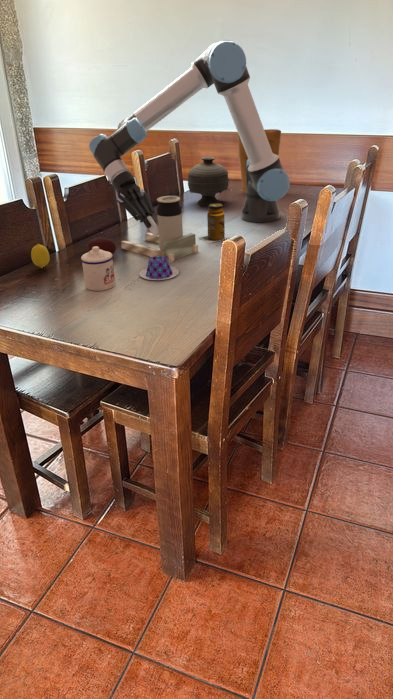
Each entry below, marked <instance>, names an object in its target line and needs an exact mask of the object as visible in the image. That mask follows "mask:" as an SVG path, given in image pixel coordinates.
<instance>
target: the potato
mask: <svg viewBox="0 0 393 699" xmlns="http://www.w3.org/2000/svg"><path fill="white" fill-rule="evenodd" d="M95 246H97V247H99V249H101V250H103V251H108V252H110V253H111V254H112V255H113V254H114V253H115V252H116V251H117V245H116V244H115V242H114V241H113V240H112V239H109V238H107V237H101V236H100V237H94V238H92V239H90V240H89V241H88V242H87V249H88V252H89V251H91V250H92V248H93V247H95Z"/></svg>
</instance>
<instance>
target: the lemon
mask: <svg viewBox="0 0 393 699" xmlns="http://www.w3.org/2000/svg"><path fill="white" fill-rule="evenodd" d="M30 257H31V261H32V262H33V264H34V265H35V266H37V268H38V267H39V268H41V269H44V268H45V266H47V265H48V264H49V262H50V253H49V251H48V249H47V247H46V246H45V245H42V244H40V243H37V244H36V245H34V246H33V247H32V249H31V253H30ZM43 267H44V268H43Z"/></svg>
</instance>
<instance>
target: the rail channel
mask: <svg viewBox="0 0 393 699" xmlns="http://www.w3.org/2000/svg"><path fill="white" fill-rule="evenodd" d="M145 241H147V242H148V241H149V242H151V243H155V244H159V235H158V236H156V237H154V236H153V234H152V233H151V232H150V231H148V232H146V233H145ZM120 244H121V249H123V250H126V251H129V252H133V253H136V254H140V255H143V256H147V257H150V258H151V257H154V256H163V257H166V258H167V259H168V261H169V264H170V263H173V262H175V260H178V259H180V258H182V257H185V256H187V255H190V254H197V253H199V244H197V243H196V233H193V232H190V233H187V234H183V236H181V237H178V238H175V239H173V240H170V241H167V242H164V243H163V247H164V251H161V250H160V249H158V248H153V247H150V246H147V245H146V246H145V245H143V244H138V243H135V242H131V241H127V240H121V241H120Z"/></svg>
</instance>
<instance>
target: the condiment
mask: <svg viewBox="0 0 393 699" xmlns="http://www.w3.org/2000/svg"><path fill="white" fill-rule="evenodd" d="M207 207H208V208H207V209H208V210H207V211H208V212H207V214H206V215H207V217H206V220H207V235H204V236H200V237H199V239H200V240H202V241H204V242H207V243H209V244H212V243H215V242H216V243H217V242H222V241H224V239H225V241H226V240H229V239H230V238H229V237H227V236H225V235H226V234H225V229H226V228H225V227H226V226H225V216H226V215H225V212H224V205H223V203H220V204H219V203H214V204H210V205H209V206H207ZM226 238H227V239H226Z"/></svg>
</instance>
